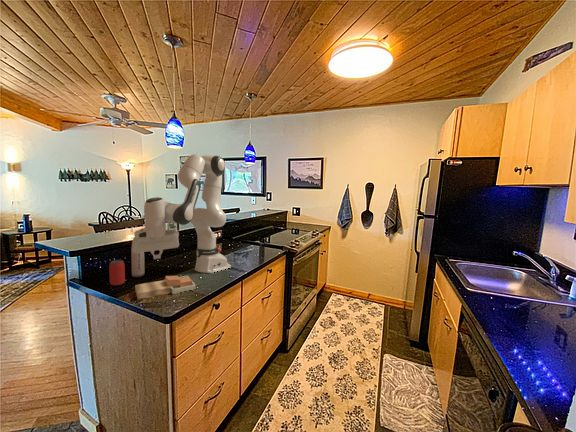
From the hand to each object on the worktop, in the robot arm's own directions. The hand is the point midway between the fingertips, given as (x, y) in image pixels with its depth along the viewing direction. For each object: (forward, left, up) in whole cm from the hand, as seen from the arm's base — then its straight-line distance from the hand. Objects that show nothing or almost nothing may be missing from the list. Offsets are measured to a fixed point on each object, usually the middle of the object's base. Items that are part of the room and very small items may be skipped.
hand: (157, 258), depth 119 cm
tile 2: (-13, +1, -16) cm, 21 cm away
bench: (+2, 0, -17) cm, 17 cm away
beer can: (+16, -20, -17) cm, 30 cm away
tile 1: (-7, +1, -14) cm, 16 cm away
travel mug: (+6, -28, -17) cm, 33 cm away
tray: (-11, 0, -17) cm, 20 cm away
